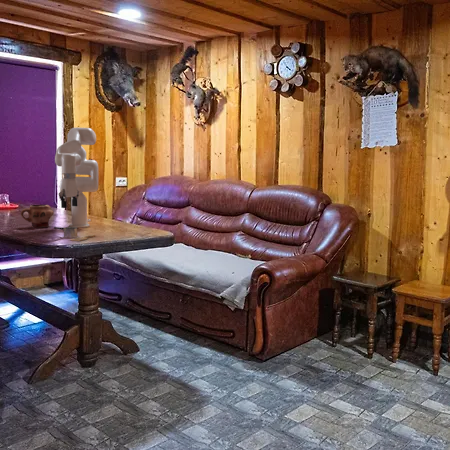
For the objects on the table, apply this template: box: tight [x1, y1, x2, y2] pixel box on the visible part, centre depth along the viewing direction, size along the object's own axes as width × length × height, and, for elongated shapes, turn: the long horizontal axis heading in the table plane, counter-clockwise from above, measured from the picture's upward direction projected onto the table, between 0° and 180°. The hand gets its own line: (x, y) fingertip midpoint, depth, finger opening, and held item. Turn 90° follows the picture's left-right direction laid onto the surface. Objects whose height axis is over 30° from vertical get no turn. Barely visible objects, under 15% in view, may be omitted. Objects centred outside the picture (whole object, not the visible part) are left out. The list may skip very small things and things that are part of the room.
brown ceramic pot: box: [20, 204, 55, 229], centre depth 325 cm, size 20×12×14 cm, turn 133°
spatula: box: [69, 234, 96, 242], centre depth 288 cm, size 18×6×1 cm, turn 160°
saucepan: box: [53, 226, 78, 239], centre depth 294 cm, size 15×8×5 cm, turn 70°
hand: (69, 207), depth 294 cm, fingers open, 9 cm apart
